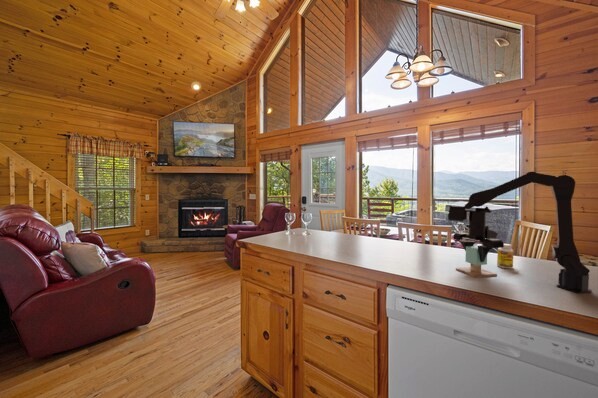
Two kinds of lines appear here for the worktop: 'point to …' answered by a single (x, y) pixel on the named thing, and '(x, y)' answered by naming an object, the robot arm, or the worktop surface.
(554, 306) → the worktop surface
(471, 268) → the post fixture
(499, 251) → the supplement bottle
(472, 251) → the mint tissue box
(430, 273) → the worktop surface
